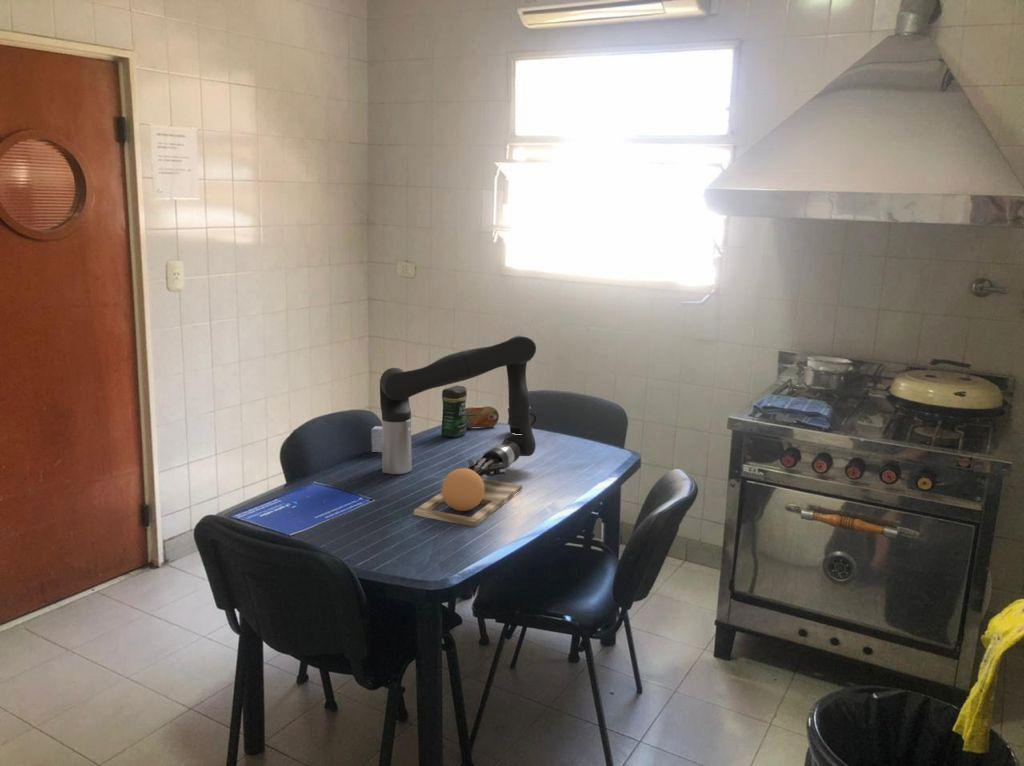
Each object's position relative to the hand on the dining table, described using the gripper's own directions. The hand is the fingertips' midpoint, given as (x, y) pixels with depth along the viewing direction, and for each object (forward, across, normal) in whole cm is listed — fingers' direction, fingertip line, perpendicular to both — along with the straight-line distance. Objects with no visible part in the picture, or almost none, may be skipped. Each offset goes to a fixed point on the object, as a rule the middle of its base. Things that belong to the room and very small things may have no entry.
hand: (473, 475), depth 234 cm
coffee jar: (-58, -37, +8) cm, 69 cm away
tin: (-71, -33, +8) cm, 79 cm away
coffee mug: (-70, -15, +8) cm, 72 cm away
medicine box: (-28, -48, +8) cm, 56 cm away
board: (+2, 0, +8) cm, 8 cm away
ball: (+8, +1, +2) cm, 8 cm away
